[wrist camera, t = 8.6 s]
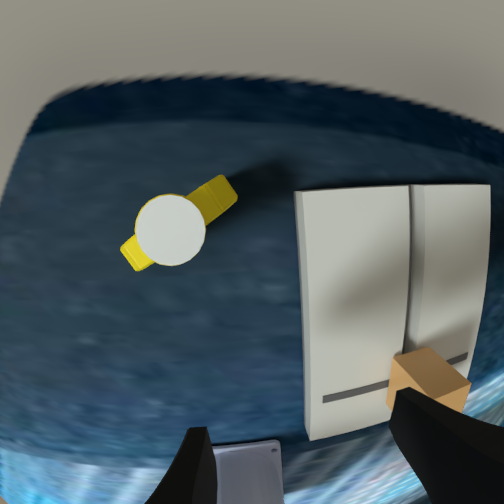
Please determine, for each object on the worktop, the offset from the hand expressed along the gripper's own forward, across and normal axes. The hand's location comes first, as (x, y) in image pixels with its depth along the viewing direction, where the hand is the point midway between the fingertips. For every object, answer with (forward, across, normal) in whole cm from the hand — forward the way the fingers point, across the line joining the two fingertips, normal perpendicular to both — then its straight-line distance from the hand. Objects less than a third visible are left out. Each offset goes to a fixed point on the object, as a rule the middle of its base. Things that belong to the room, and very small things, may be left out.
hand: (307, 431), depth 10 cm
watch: (+10, +4, -7) cm, 13 cm away
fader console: (+9, -9, 0) cm, 13 cm away
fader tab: (+9, -9, +5) cm, 14 cm away
